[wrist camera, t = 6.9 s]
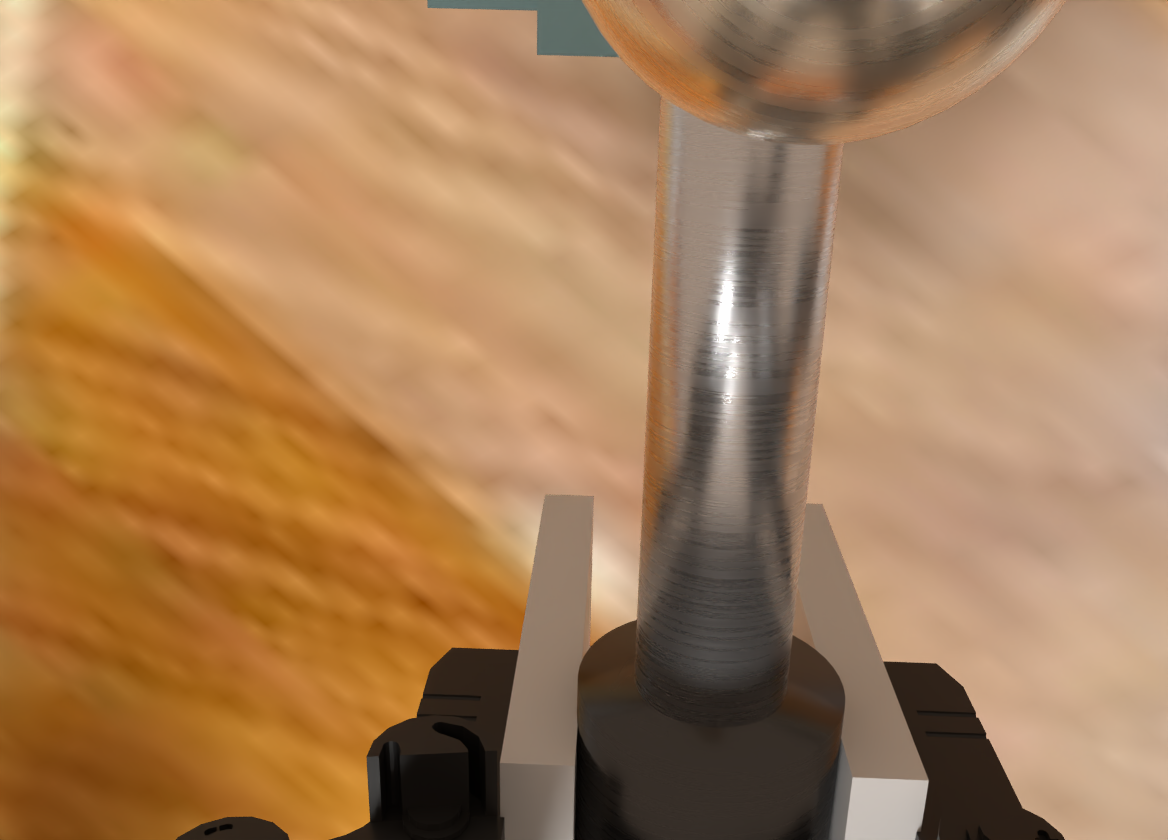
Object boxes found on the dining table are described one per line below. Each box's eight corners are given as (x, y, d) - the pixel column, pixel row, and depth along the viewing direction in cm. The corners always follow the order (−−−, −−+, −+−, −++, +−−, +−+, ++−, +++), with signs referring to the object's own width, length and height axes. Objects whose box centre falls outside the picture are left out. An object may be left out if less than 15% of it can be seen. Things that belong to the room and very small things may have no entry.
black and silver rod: (840, 567, 25) (1187, 1508, 9) (480, 553, 25) (241, 1452, 10) (947, -337, 19) (2449, -1893, 3) (468, -344, 19) (-240, -1833, 3)
